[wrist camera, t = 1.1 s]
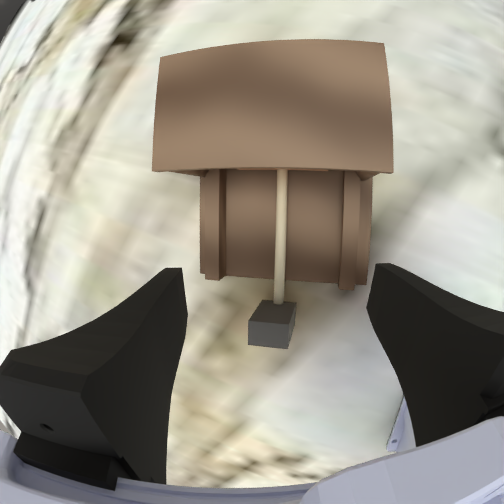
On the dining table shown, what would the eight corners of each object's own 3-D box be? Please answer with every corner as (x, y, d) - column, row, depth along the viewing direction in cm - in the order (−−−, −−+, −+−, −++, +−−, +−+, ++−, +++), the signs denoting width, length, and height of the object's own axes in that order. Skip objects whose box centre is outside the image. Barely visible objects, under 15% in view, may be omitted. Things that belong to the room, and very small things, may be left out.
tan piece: (320, 325, 21) (317, 358, 16) (238, 317, 22) (215, 347, 18) (327, 100, 18) (326, 71, 14) (241, 101, 20) (217, 76, 15)
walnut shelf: (364, 281, 21) (381, 320, 14) (205, 270, 24) (155, 299, 16) (367, 88, 19) (383, 40, 11) (208, 92, 21) (160, 54, 14)
